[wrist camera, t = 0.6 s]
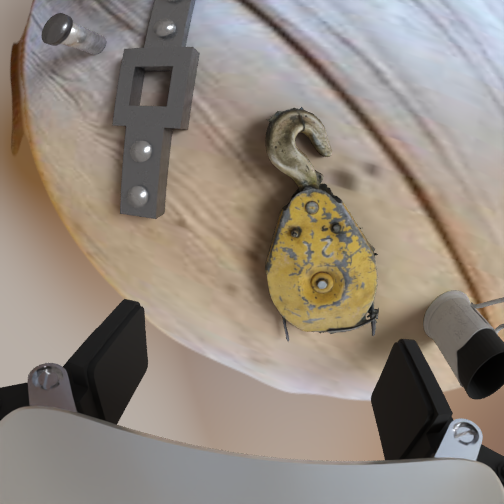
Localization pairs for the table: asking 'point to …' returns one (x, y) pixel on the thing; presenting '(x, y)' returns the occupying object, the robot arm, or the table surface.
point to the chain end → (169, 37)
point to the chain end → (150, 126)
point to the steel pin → (72, 35)
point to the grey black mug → (467, 342)
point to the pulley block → (316, 241)
